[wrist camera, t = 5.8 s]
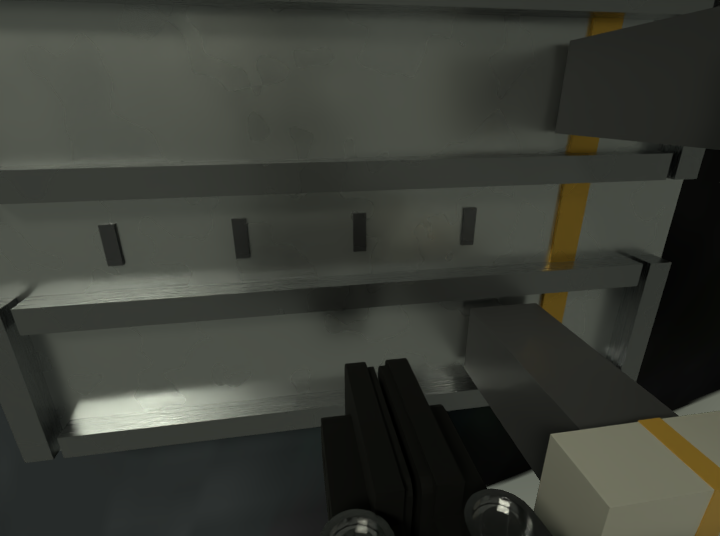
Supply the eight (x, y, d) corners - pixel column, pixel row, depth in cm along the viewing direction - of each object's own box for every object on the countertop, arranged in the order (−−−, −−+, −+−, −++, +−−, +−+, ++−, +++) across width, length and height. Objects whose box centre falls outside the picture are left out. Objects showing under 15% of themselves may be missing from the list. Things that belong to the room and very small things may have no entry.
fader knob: (442, 299, 13) (611, 507, 6) (564, 289, 14) (835, 469, 7) (436, 380, 15) (572, 631, 8) (548, 368, 15) (767, 587, 8)
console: (-97, -42, 10) (-229, -93, 7) (679, -9, 13) (773, -36, 11) (60, 412, 15) (14, 474, 13) (591, 355, 19) (640, 395, 16)
